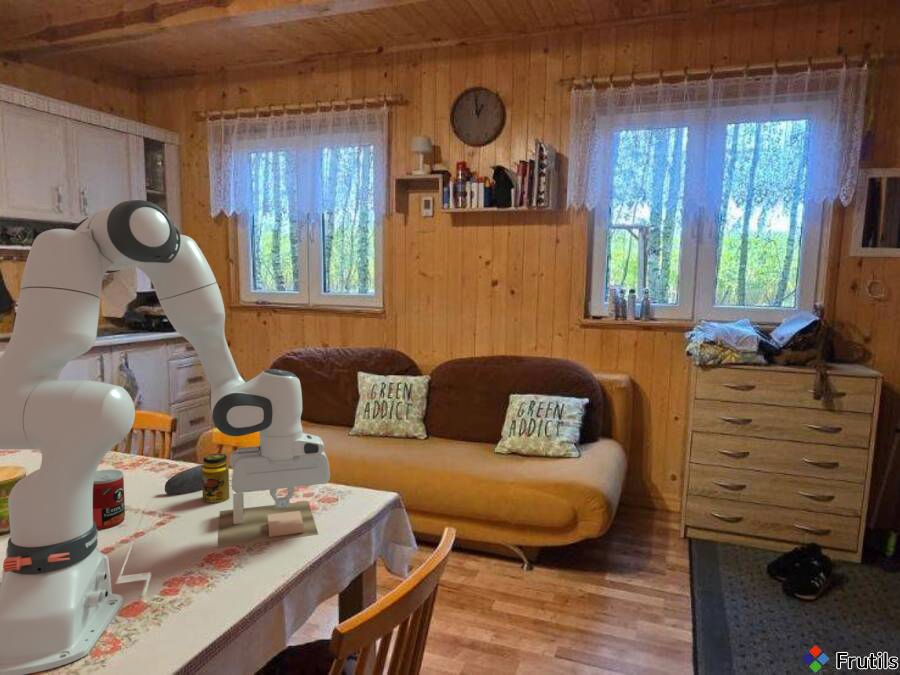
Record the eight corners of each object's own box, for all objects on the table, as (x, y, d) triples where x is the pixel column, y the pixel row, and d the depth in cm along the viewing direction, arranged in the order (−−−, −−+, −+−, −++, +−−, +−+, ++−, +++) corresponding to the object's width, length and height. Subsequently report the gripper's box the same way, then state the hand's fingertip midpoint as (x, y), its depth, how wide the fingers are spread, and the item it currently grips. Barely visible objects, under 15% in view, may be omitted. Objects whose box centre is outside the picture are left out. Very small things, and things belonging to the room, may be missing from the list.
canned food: (107, 531, 125) (105, 482, 124) (76, 527, 126) (73, 479, 125) (133, 517, 132) (131, 470, 131) (103, 513, 134) (101, 467, 133)
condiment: (202, 511, 137) (200, 462, 135) (199, 498, 144) (197, 451, 143) (234, 506, 140) (233, 458, 139) (230, 493, 147) (229, 448, 146)
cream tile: (243, 523, 128) (243, 492, 127) (233, 524, 127) (232, 493, 126) (243, 510, 134) (242, 481, 133) (233, 511, 133) (233, 482, 133)
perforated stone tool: (167, 503, 141) (166, 475, 140) (161, 496, 145) (160, 470, 144) (229, 489, 151) (228, 463, 150) (222, 483, 155) (221, 458, 154)
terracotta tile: (269, 537, 121) (303, 533, 123) (269, 527, 121) (303, 523, 123) (267, 523, 128) (300, 519, 130) (267, 514, 127) (299, 510, 130)
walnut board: (318, 539, 123) (318, 534, 123) (217, 553, 116) (217, 547, 116) (308, 505, 141) (308, 500, 141) (220, 515, 134) (219, 511, 134)
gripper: (229, 453, 117) (230, 518, 118) (331, 444, 124) (331, 506, 125) (229, 444, 123) (230, 506, 124) (326, 436, 130) (327, 495, 131)
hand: (282, 506), depth 125 cm, fingers closed
